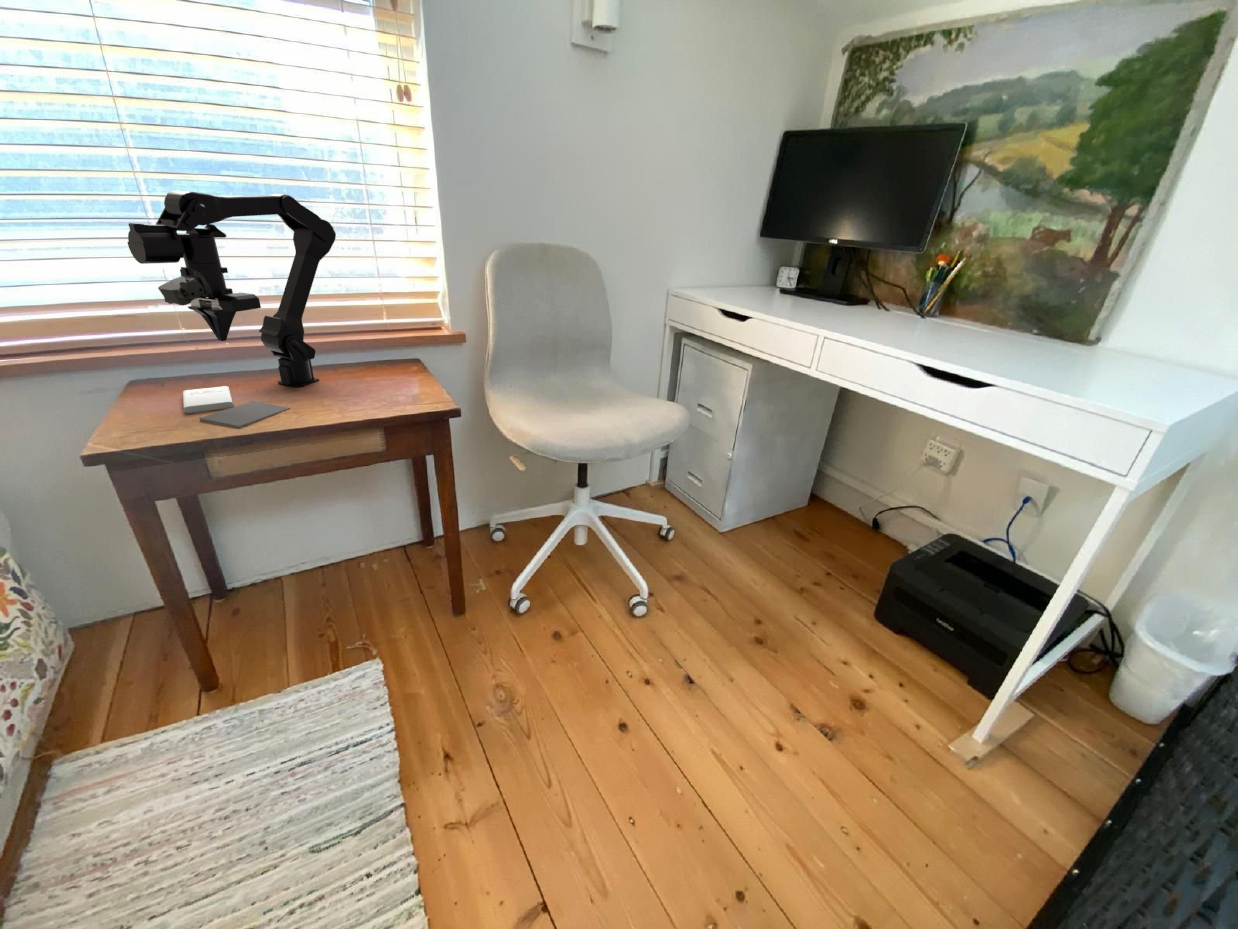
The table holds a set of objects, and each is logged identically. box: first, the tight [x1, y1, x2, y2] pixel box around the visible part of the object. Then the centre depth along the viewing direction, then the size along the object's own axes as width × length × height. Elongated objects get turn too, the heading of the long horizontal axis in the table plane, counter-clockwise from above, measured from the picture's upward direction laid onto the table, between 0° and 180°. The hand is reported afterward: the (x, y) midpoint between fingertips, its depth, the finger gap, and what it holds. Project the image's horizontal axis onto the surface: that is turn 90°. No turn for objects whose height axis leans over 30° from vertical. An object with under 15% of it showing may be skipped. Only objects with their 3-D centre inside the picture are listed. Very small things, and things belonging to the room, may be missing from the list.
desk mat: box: [199, 400, 291, 430], centre depth 109 cm, size 12×10×1 cm
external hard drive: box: [182, 385, 235, 415], centre depth 114 cm, size 2×8×12 cm
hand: (222, 340), depth 112 cm, fingers closed
